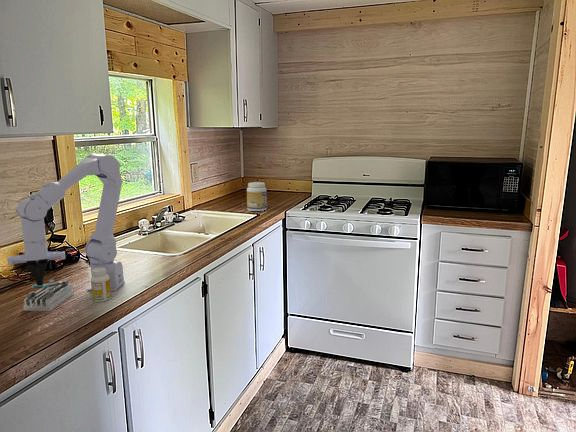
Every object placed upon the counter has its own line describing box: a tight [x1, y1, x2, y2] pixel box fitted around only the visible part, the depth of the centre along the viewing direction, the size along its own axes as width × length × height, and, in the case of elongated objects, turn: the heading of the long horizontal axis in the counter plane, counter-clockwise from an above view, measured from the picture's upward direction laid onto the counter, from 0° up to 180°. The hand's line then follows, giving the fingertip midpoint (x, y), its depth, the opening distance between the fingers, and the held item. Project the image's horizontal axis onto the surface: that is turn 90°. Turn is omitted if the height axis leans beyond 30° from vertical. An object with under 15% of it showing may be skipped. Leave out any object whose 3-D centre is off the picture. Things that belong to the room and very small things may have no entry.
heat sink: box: [22, 279, 75, 312], centre depth 133 cm, size 13×8×5 cm, turn 177°
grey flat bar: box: [31, 281, 63, 289], centre depth 133 cm, size 11×4×1 cm, turn 177°
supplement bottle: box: [90, 267, 112, 303], centre depth 135 cm, size 5×5×10 cm
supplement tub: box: [246, 181, 268, 212], centre depth 266 cm, size 12×12×17 cm
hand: (40, 284), depth 129 cm, fingers closed, pressing on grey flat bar
